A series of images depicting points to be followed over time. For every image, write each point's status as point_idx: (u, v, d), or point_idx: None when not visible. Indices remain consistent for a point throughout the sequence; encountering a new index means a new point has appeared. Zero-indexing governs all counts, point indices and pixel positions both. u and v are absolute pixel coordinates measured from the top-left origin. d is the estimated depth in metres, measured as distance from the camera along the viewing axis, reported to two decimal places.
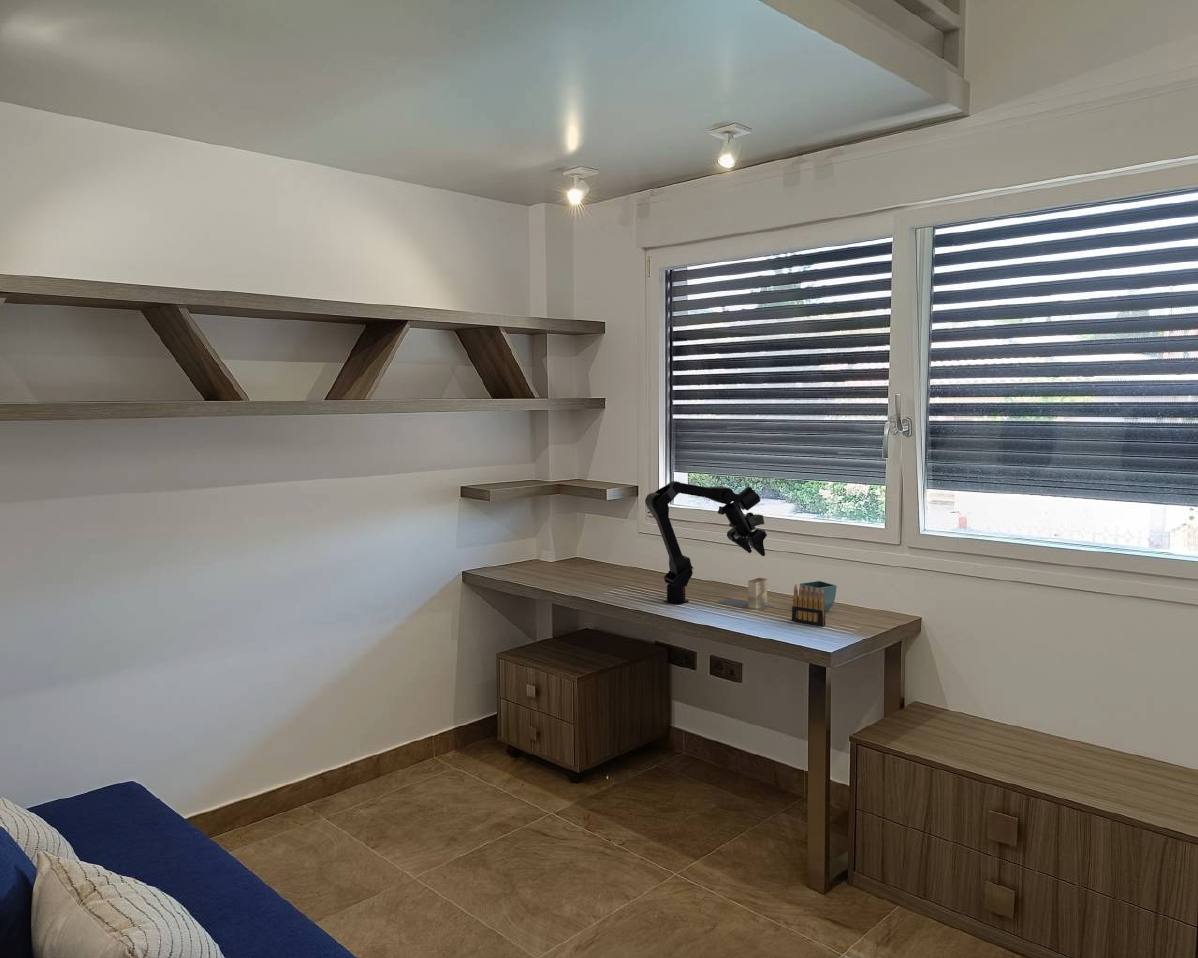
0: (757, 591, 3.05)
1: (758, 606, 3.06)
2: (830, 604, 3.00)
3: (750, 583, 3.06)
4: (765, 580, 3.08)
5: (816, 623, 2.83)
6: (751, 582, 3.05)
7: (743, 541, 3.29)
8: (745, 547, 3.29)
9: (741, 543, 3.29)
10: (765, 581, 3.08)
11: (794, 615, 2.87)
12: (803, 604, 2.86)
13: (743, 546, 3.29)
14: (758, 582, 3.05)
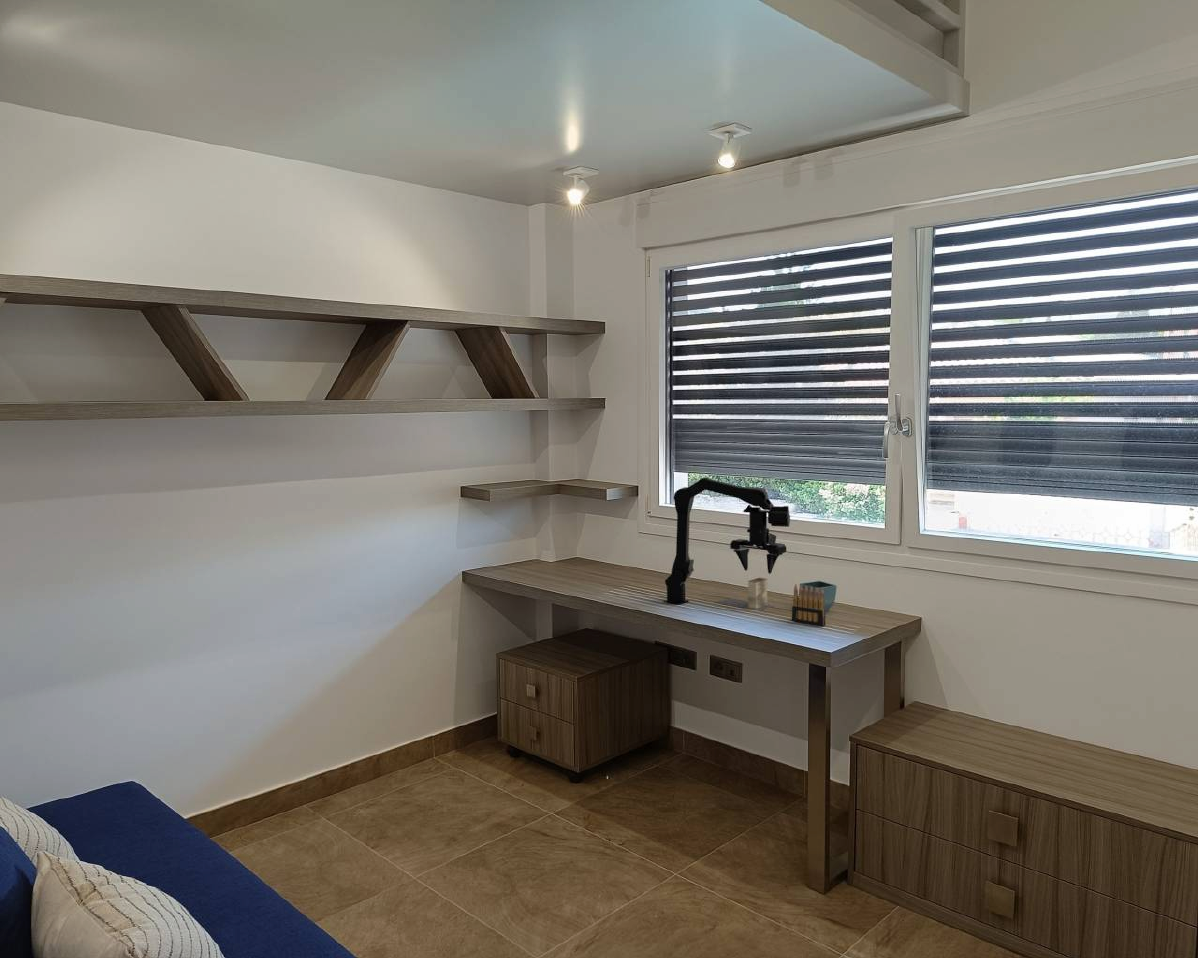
0: (757, 591, 3.05)
1: (758, 606, 3.06)
2: (830, 604, 3.00)
3: (750, 583, 3.06)
4: (765, 580, 3.08)
5: (816, 623, 2.83)
6: (751, 582, 3.05)
7: (745, 555, 3.10)
8: (744, 562, 3.10)
9: (743, 556, 3.09)
10: (765, 581, 3.08)
11: (794, 615, 2.88)
12: (803, 603, 2.86)
13: (743, 560, 3.09)
14: (758, 582, 3.05)
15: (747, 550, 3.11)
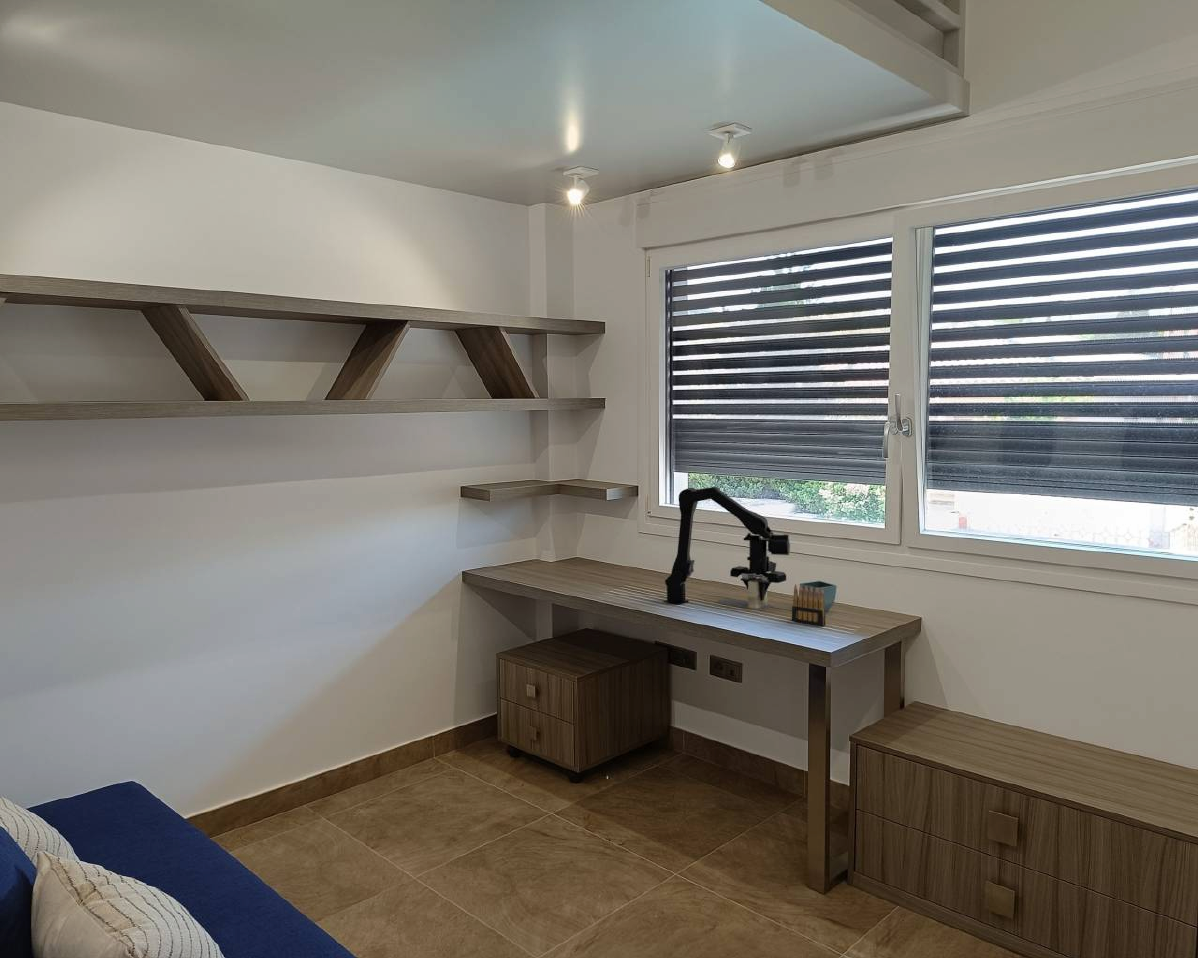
0: (757, 591, 3.05)
1: (758, 606, 3.06)
2: (830, 604, 3.00)
3: (750, 583, 3.06)
4: None
5: (816, 623, 2.83)
6: (751, 582, 3.05)
7: None
8: None
9: None
10: None
11: (794, 615, 2.87)
12: (803, 604, 2.86)
13: None
14: (758, 582, 3.05)
15: None
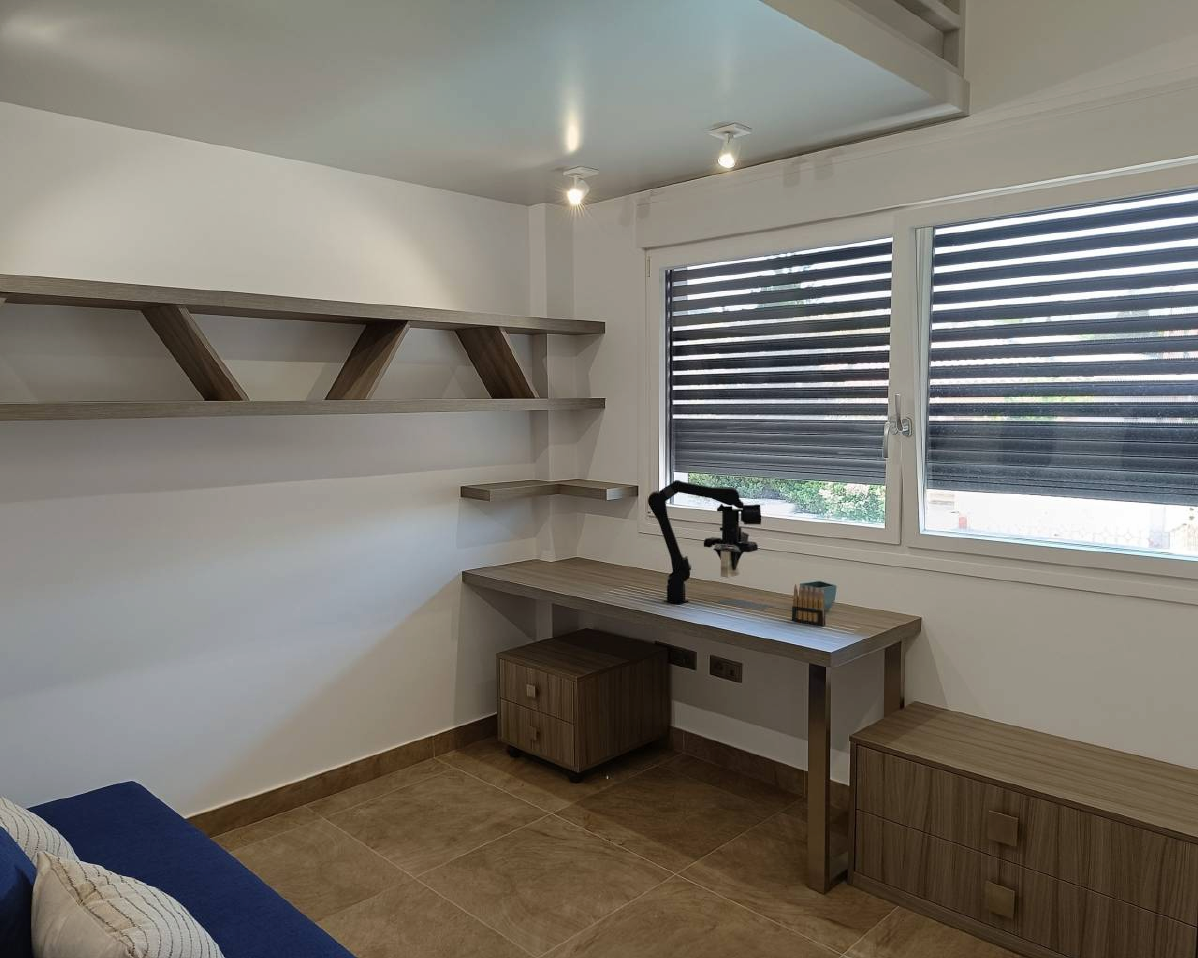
0: (729, 561, 3.11)
1: (730, 575, 3.12)
2: (830, 604, 3.00)
3: (722, 553, 3.12)
4: None
5: (816, 623, 2.83)
6: (723, 552, 3.12)
7: None
8: None
9: None
10: None
11: (794, 615, 2.87)
12: (803, 604, 2.86)
13: None
14: (730, 552, 3.12)
15: None
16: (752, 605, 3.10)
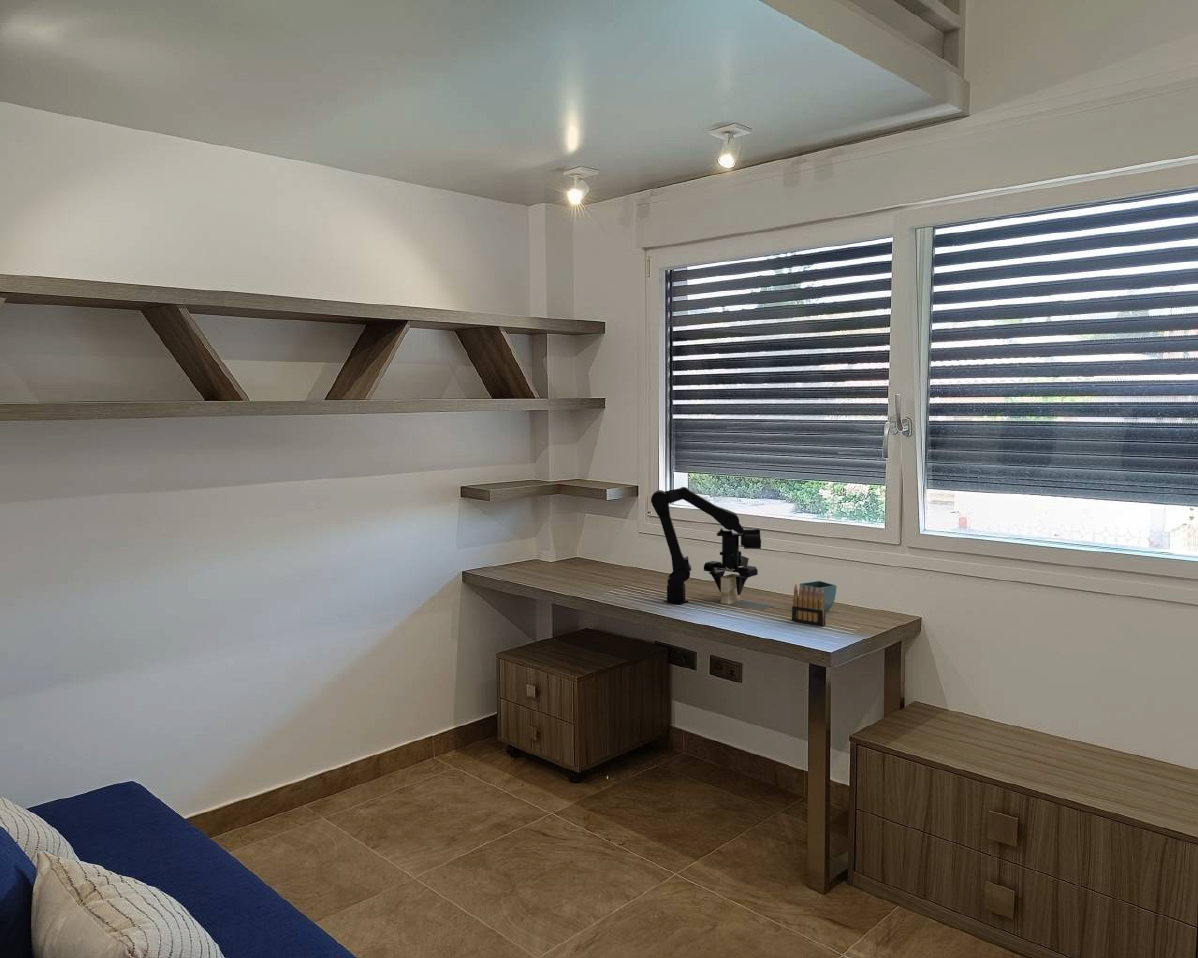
0: (729, 587, 3.12)
1: (730, 601, 3.13)
2: (830, 604, 3.00)
3: (722, 579, 3.13)
4: None
5: (816, 623, 2.83)
6: (723, 578, 3.13)
7: (720, 578, 3.17)
8: (720, 584, 3.17)
9: (718, 578, 3.17)
10: None
11: (794, 615, 2.88)
12: (803, 603, 2.86)
13: (719, 582, 3.17)
14: (730, 578, 3.12)
15: (722, 572, 3.19)
16: (752, 605, 3.10)
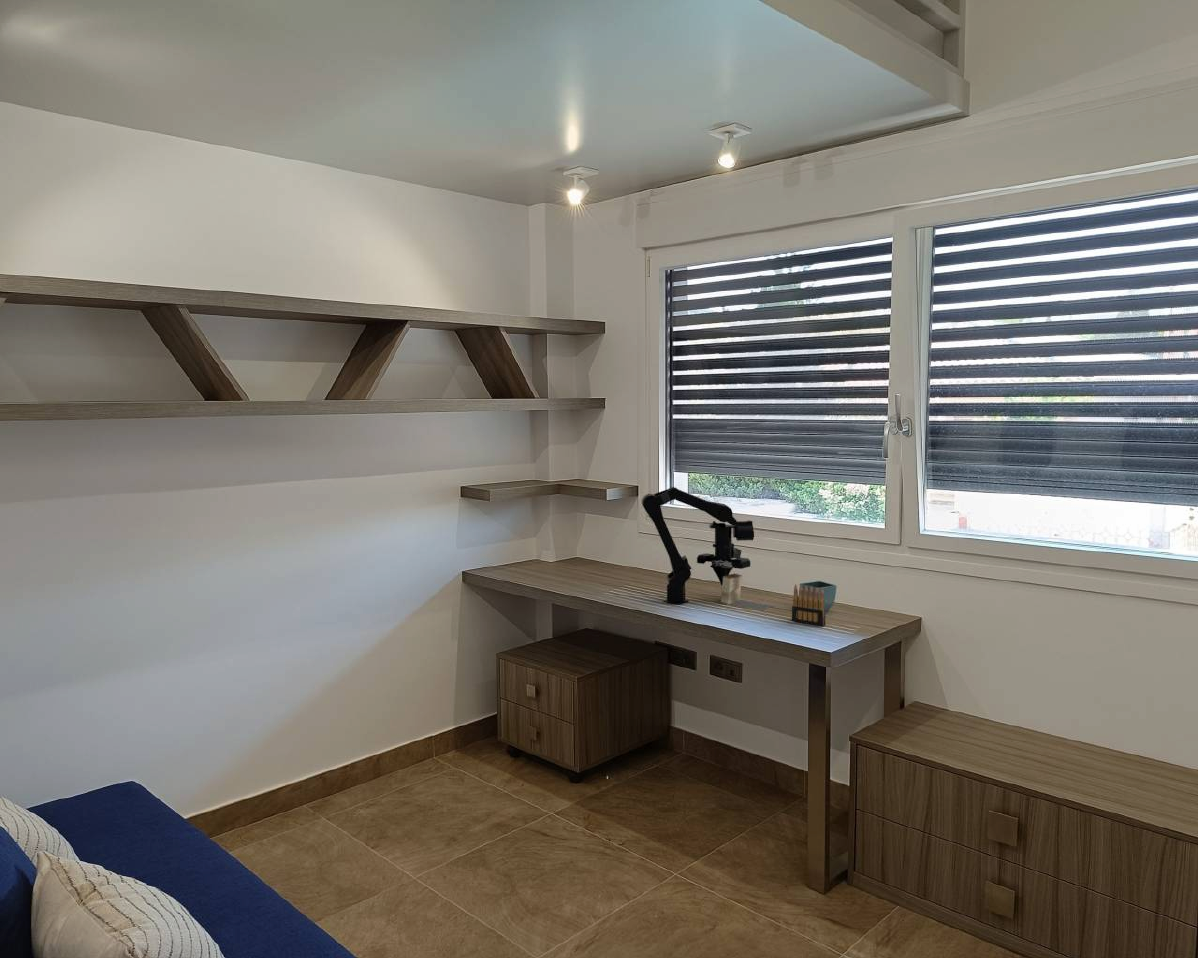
0: (730, 587, 3.12)
1: (730, 601, 3.13)
2: (830, 604, 3.00)
3: (725, 579, 3.12)
4: (740, 576, 3.15)
5: (816, 623, 2.83)
6: (726, 578, 3.12)
7: None
8: None
9: (720, 571, 3.16)
10: (739, 577, 3.15)
11: (794, 615, 2.88)
12: (803, 604, 2.86)
13: (720, 575, 3.16)
14: (732, 578, 3.12)
15: (724, 565, 3.18)
16: (752, 605, 3.10)
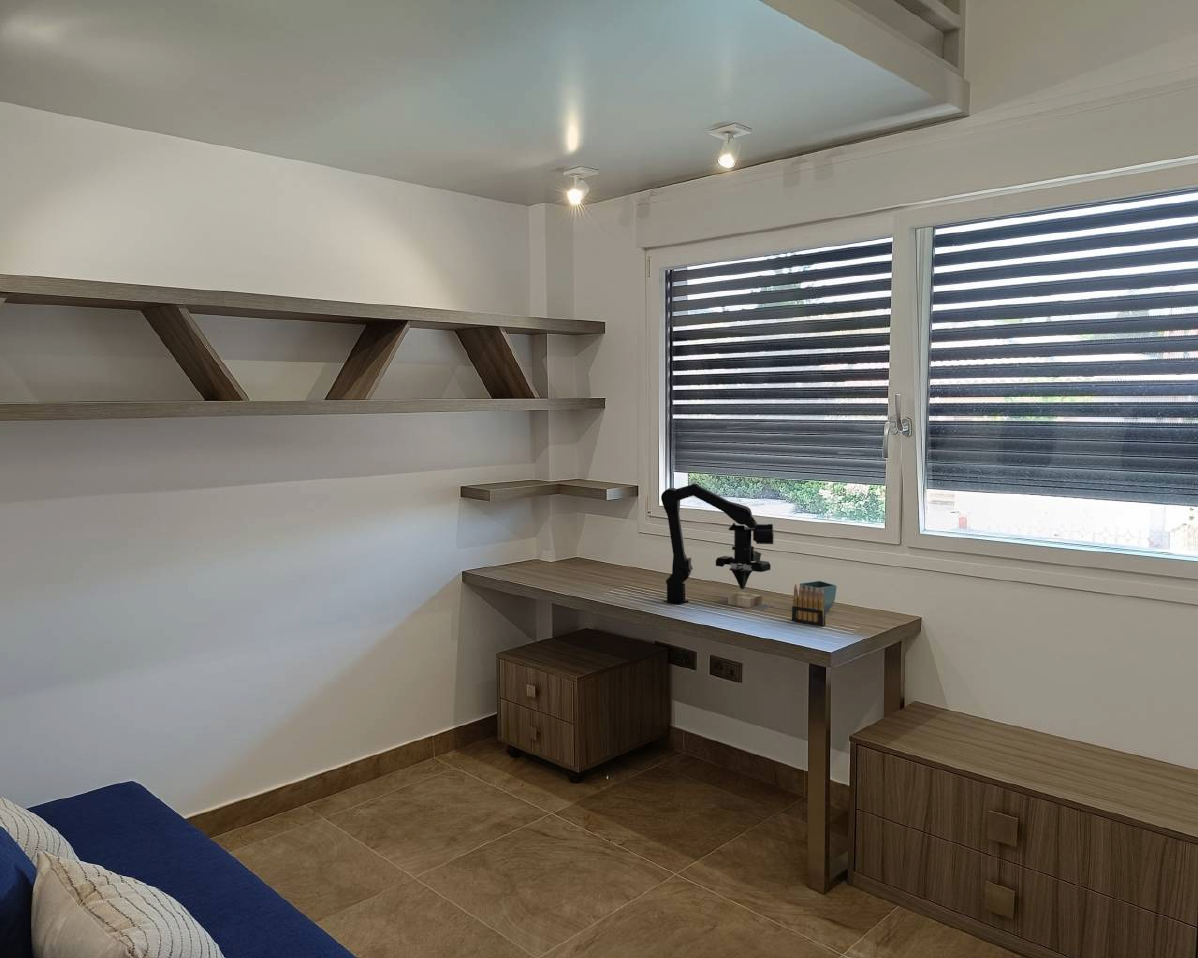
0: None
1: None
2: (830, 604, 3.00)
3: (748, 601, 3.06)
4: None
5: (816, 623, 2.83)
6: (749, 602, 3.06)
7: None
8: (740, 581, 3.11)
9: (739, 575, 3.11)
10: None
11: (794, 615, 2.88)
12: (803, 604, 2.86)
13: (739, 579, 3.11)
14: None
15: (743, 569, 3.13)
16: None
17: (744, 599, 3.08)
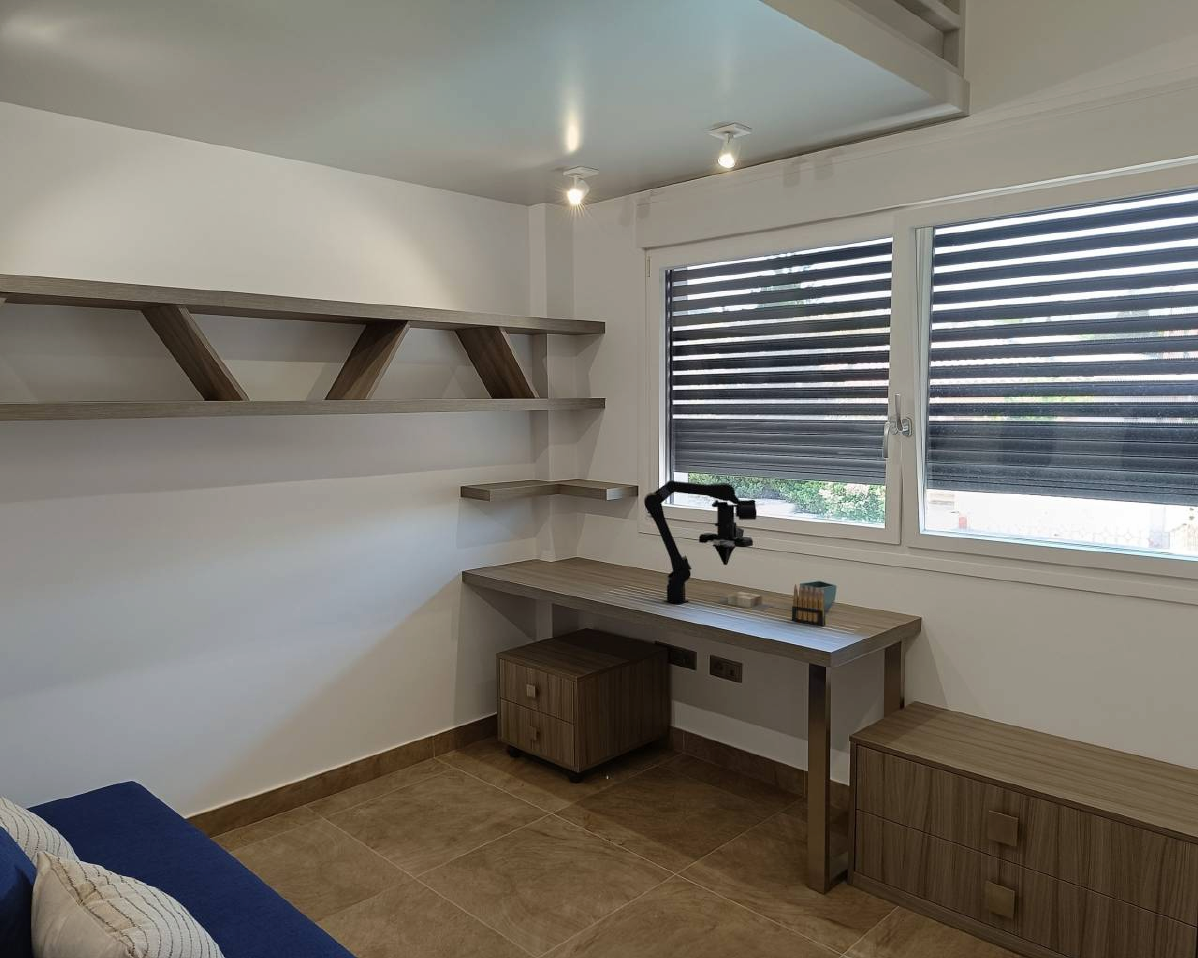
0: None
1: None
2: (830, 604, 3.00)
3: (748, 601, 3.06)
4: None
5: (816, 623, 2.83)
6: (749, 602, 3.06)
7: None
8: None
9: (722, 551, 3.15)
10: None
11: (794, 615, 2.88)
12: (803, 604, 2.86)
13: (722, 555, 3.15)
14: None
15: (726, 545, 3.17)
16: None
17: (744, 599, 3.08)
